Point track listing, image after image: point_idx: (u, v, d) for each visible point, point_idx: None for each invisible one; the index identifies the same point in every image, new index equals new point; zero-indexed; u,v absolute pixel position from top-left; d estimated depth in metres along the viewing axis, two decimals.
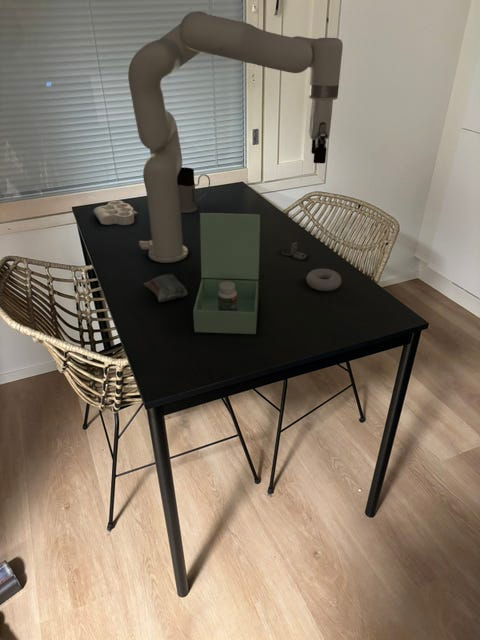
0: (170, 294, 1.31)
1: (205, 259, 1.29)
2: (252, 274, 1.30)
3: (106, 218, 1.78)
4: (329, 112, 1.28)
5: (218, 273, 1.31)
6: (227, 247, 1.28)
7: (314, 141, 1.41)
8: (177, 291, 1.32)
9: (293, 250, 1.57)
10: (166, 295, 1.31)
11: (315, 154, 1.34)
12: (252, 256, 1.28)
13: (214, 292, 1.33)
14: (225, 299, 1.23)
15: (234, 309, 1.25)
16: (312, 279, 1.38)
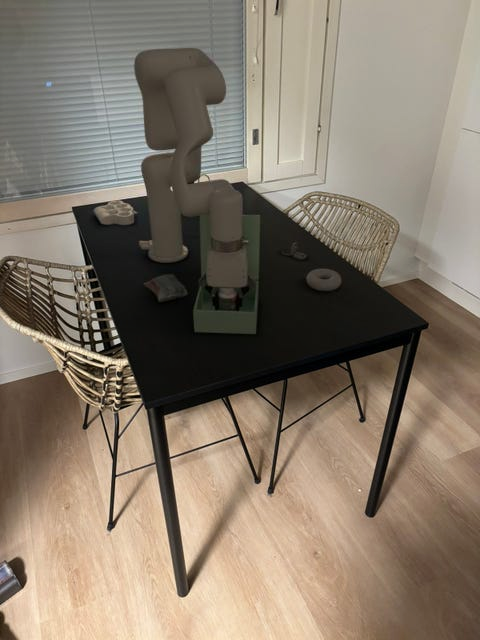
0: (170, 294, 1.31)
1: (205, 259, 1.29)
2: (252, 274, 1.30)
3: (106, 218, 1.78)
4: (207, 261, 1.18)
5: None
6: None
7: None
8: (177, 291, 1.32)
9: (293, 250, 1.57)
10: (166, 295, 1.31)
11: None
12: (252, 256, 1.28)
13: None
14: (225, 299, 1.23)
15: (234, 309, 1.25)
16: (312, 279, 1.38)
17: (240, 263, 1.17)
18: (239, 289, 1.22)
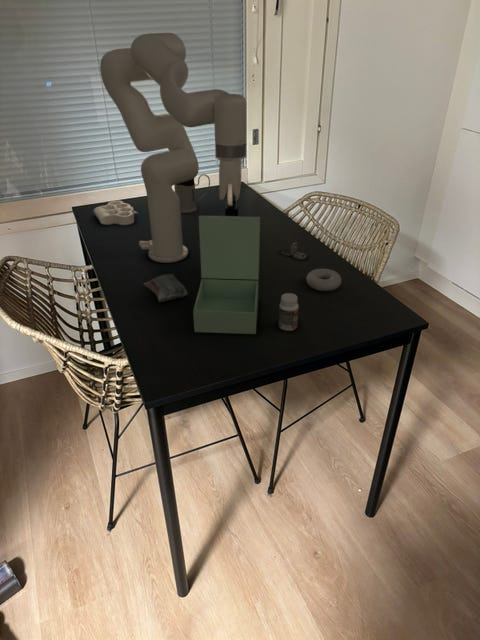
0: (170, 294, 1.31)
1: (205, 260, 1.29)
2: (252, 274, 1.30)
3: (106, 218, 1.78)
4: (236, 173, 1.18)
5: (217, 274, 1.31)
6: (227, 248, 1.27)
7: None
8: (177, 291, 1.32)
9: (293, 250, 1.57)
10: (166, 295, 1.31)
11: (226, 214, 1.28)
12: (252, 257, 1.27)
13: (214, 292, 1.33)
14: (287, 311, 1.19)
15: (295, 322, 1.22)
16: (312, 279, 1.38)
17: None
18: None
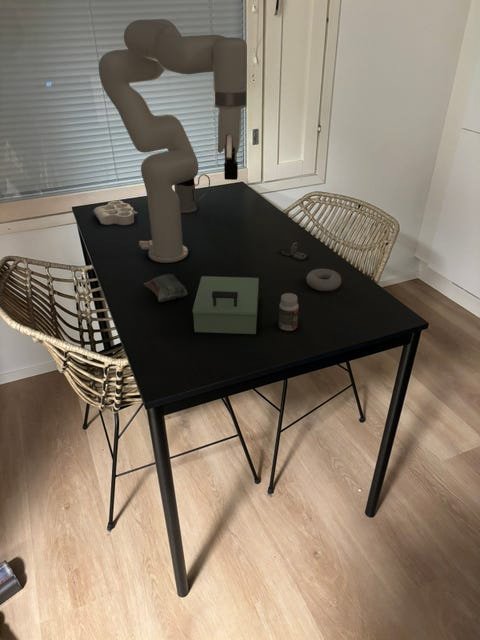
0: (170, 294, 1.31)
1: None
2: None
3: (106, 218, 1.78)
4: (235, 123, 1.12)
5: None
6: None
7: None
8: (177, 291, 1.32)
9: (293, 250, 1.57)
10: (166, 295, 1.31)
11: (225, 170, 1.22)
12: None
13: None
14: (287, 311, 1.19)
15: (295, 322, 1.22)
16: (312, 279, 1.38)
17: None
18: None
